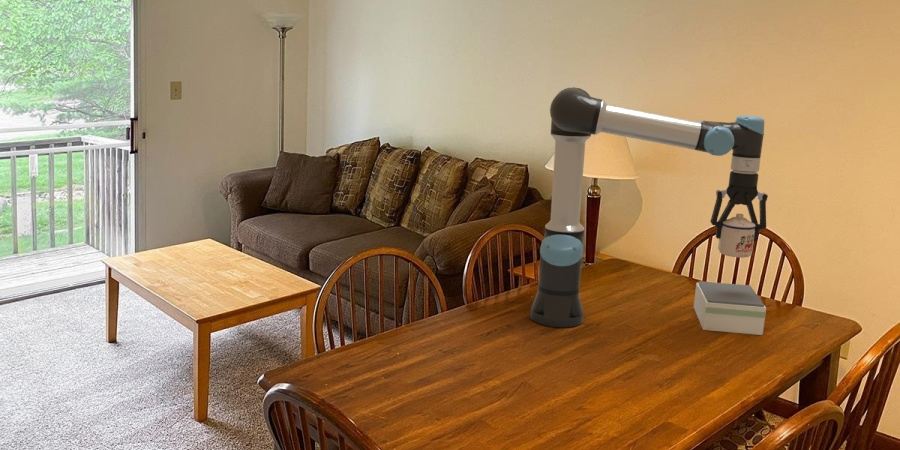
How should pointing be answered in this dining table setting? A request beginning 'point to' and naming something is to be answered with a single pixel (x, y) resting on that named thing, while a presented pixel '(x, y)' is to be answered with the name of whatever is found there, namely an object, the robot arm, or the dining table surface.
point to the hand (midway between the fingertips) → (734, 250)
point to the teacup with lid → (737, 237)
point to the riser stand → (729, 308)
